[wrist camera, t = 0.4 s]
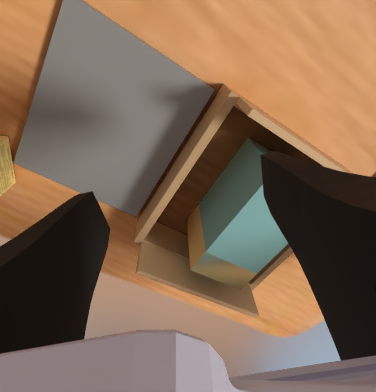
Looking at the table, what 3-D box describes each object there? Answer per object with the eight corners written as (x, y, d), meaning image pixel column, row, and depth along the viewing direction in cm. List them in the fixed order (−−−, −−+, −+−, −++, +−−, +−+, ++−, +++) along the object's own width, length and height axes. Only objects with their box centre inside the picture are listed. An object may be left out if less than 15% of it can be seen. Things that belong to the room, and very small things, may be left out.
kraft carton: (343, 166, 22) (395, 205, 17) (244, 266, 27) (261, 319, 22) (223, 83, 18) (243, 102, 13) (137, 219, 23) (127, 270, 18)
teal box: (291, 164, 21) (328, 204, 16) (226, 238, 25) (240, 290, 20) (248, 136, 20) (273, 171, 15) (186, 219, 24) (190, 270, 19)
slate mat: (213, 88, 18) (214, 89, 18) (136, 213, 23) (135, 217, 23) (69, -9, 15) (66, -10, 14) (17, 159, 20) (13, 162, 20)
